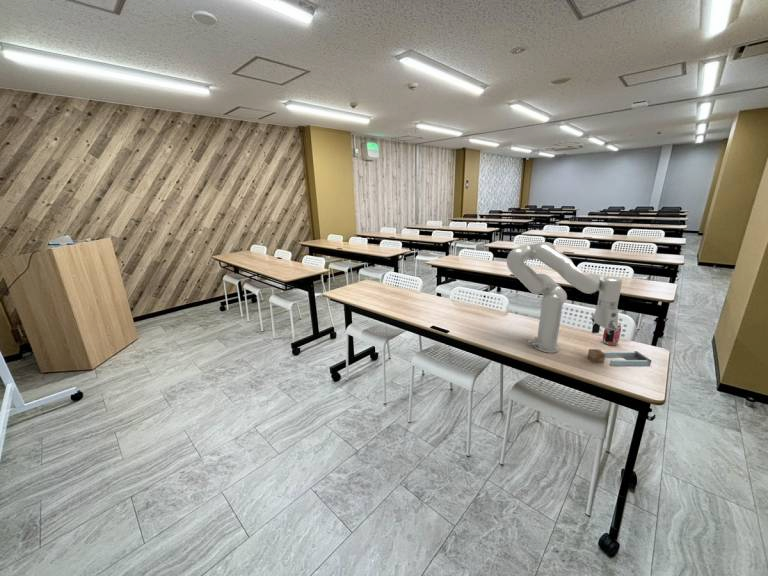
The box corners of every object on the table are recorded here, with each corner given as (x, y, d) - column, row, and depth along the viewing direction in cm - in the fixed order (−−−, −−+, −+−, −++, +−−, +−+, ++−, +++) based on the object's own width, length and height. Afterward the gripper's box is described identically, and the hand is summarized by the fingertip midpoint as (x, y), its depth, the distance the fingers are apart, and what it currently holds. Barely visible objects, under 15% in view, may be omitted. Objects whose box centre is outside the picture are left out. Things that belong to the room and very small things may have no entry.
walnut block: (592, 363, 146) (594, 354, 144) (587, 357, 150) (588, 349, 149) (603, 363, 145) (605, 354, 143) (597, 358, 150) (599, 349, 148)
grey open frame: (611, 365, 143) (612, 360, 142) (598, 356, 151) (600, 351, 150) (650, 365, 142) (651, 360, 141) (635, 356, 150) (636, 351, 150)
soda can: (602, 339, 169) (606, 319, 166) (618, 342, 165) (622, 322, 162) (601, 343, 164) (605, 323, 161) (617, 347, 160) (622, 327, 156)
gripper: (630, 309, 130) (623, 345, 135) (603, 297, 147) (598, 329, 151) (612, 309, 130) (605, 345, 135) (587, 298, 147) (582, 329, 152)
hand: (601, 337), depth 143 cm, fingers open, 9 cm apart
